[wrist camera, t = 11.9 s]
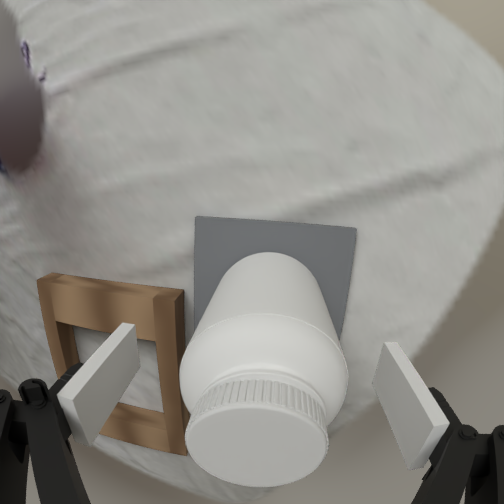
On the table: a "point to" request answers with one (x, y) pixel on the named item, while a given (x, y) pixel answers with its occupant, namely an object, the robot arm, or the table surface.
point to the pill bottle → (263, 375)
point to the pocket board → (147, 327)
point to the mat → (279, 241)
